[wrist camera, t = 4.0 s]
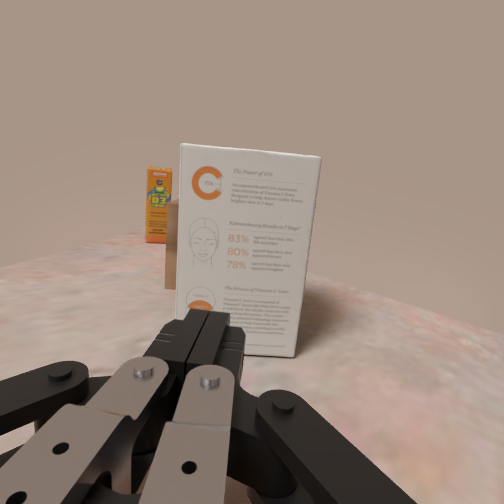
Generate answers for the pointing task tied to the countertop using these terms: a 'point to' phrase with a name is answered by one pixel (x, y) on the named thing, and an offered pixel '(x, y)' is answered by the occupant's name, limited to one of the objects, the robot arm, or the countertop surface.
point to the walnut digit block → (171, 244)
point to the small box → (246, 240)
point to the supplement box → (157, 203)
